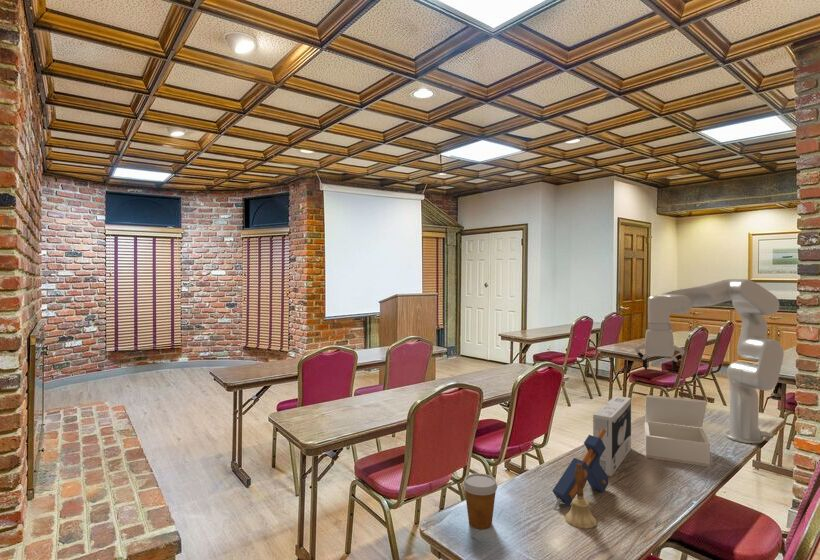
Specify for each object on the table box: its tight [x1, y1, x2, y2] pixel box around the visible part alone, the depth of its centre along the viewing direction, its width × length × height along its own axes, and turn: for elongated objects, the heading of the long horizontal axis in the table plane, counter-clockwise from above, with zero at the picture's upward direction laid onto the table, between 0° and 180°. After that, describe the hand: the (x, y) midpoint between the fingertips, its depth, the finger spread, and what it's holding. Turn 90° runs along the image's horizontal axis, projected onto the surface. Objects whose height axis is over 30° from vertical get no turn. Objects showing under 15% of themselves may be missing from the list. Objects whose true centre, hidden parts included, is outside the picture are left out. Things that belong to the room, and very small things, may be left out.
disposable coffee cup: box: [462, 472, 499, 530], centre depth 126 cm, size 10×10×12 cm
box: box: [644, 421, 711, 468], centre depth 174 cm, size 20×18×8 cm
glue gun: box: [552, 429, 610, 510], centre depth 142 cm, size 6×31×15 cm
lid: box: [644, 394, 708, 428], centre depth 177 cm, size 20×18×1 cm
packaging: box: [592, 395, 632, 477], centre depth 169 cm, size 30×6×20 cm, turn 143°
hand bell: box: [564, 463, 598, 529], centre depth 127 cm, size 8×8×16 cm
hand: (659, 370), depth 180 cm, fingers open, 9 cm apart
